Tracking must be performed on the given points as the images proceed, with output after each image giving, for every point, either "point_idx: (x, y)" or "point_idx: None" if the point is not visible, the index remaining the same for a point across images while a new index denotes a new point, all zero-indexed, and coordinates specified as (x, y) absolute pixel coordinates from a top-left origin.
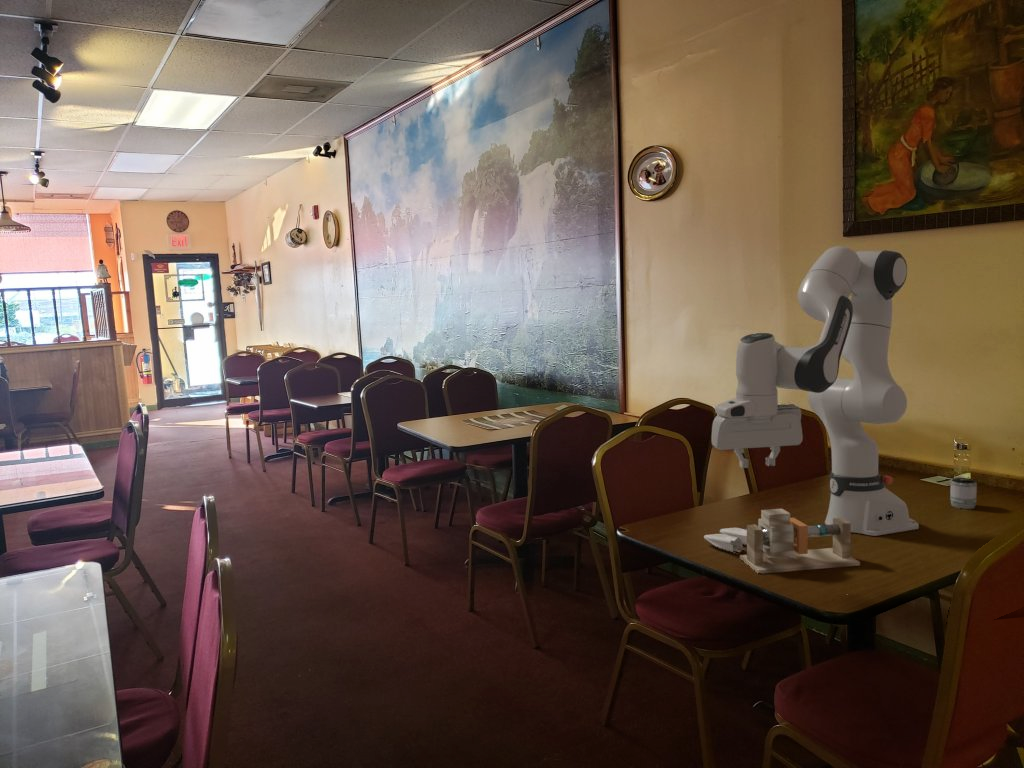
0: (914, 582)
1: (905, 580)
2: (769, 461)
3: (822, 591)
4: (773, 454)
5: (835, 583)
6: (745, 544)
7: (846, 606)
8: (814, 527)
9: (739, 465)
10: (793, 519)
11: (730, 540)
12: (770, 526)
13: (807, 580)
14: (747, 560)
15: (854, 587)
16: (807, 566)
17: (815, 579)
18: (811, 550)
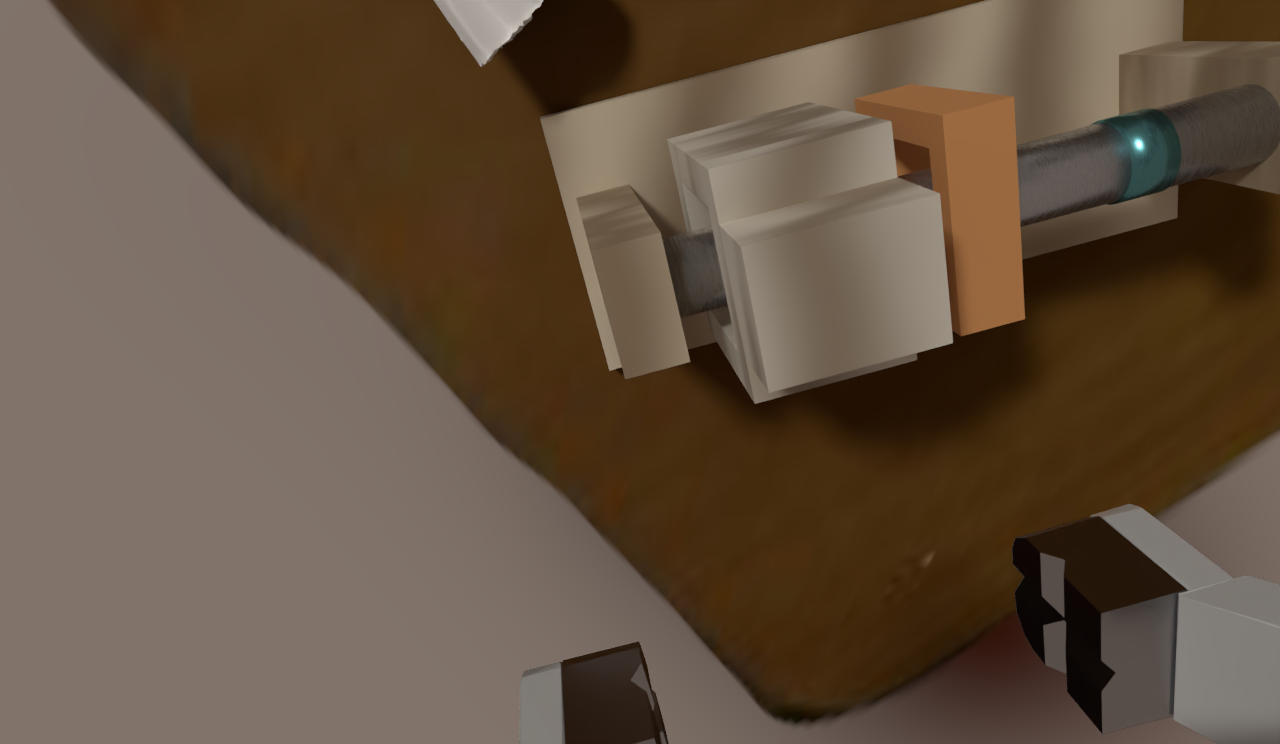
0: (1262, 417)
1: (1242, 398)
2: (1078, 691)
3: (842, 542)
4: (1274, 732)
5: (934, 454)
6: None
7: (874, 663)
8: (1090, 198)
9: (524, 678)
10: (990, 155)
11: (482, 52)
12: (750, 376)
13: (824, 429)
14: (575, 218)
15: (992, 490)
16: None
17: (865, 415)
18: (1014, 14)
